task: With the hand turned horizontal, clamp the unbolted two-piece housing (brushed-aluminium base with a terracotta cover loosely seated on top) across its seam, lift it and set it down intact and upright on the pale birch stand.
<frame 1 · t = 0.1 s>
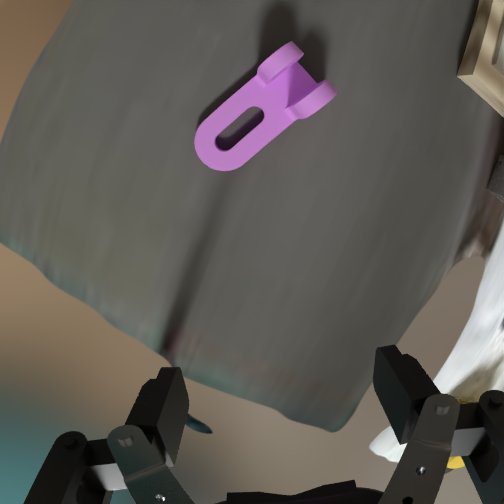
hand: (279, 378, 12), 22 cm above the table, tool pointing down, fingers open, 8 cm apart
bracket: (254, 115, 29), on the table
housing base: (503, 181, 31), on the table, touching housing cover
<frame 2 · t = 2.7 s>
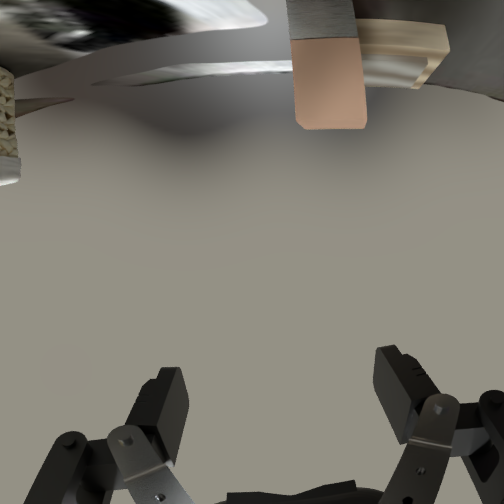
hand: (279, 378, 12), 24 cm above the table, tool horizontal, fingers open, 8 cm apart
housing cover: (326, 48, 21), point 6 cm above the table, touching housing base
stand: (377, 47, 33), on the table
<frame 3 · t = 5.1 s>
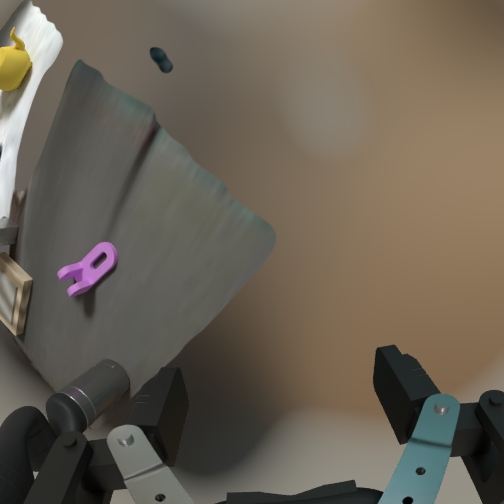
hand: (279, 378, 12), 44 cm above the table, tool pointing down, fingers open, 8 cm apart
teapot: (22, 69, 63), on the table
stand: (13, 292, 70), on the table
bracket: (97, 265, 64), on the table
housing base: (12, 230, 68), on the table, touching housing cover
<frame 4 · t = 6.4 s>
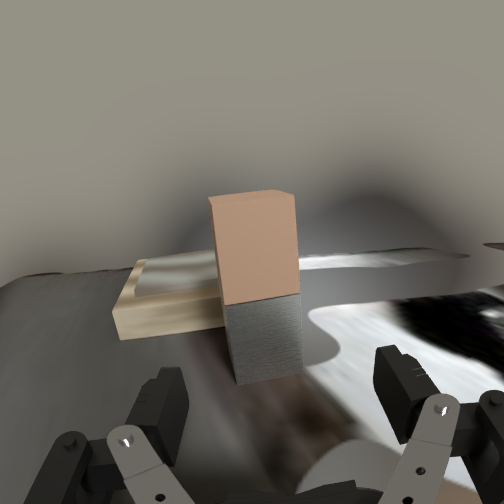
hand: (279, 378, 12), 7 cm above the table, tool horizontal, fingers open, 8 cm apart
housing cover: (256, 287, 23), point 6 cm above the table, touching housing base
stand: (187, 297, 39), on the table
housing base: (263, 361, 25), on the table, touching housing cover
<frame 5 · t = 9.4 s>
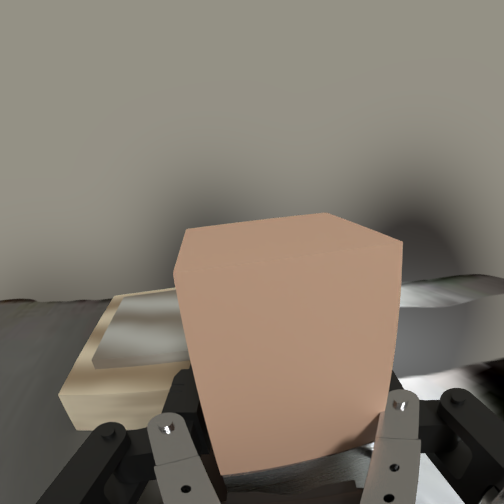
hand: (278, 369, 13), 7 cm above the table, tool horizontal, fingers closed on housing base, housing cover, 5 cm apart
housing cover: (285, 413, 11), point 7 cm above the table, touching gripper
stand: (176, 356, 27), on the table
housing base: (290, 499, 12), on the table, touching gripper
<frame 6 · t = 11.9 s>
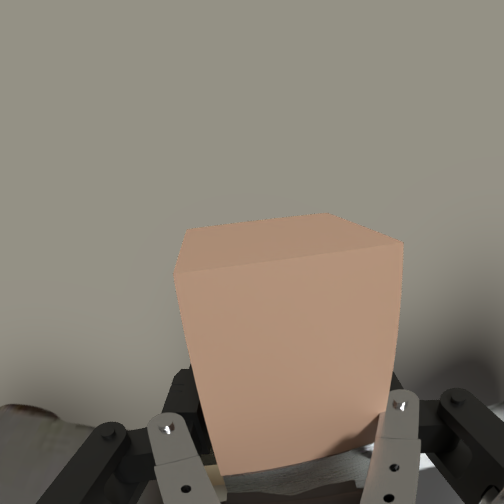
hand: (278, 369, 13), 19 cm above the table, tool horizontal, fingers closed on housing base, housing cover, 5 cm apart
housing cover: (286, 413, 11), point 19 cm above the table, touching gripper
housing base: (290, 499, 12), point 12 cm above the table, touching gripper
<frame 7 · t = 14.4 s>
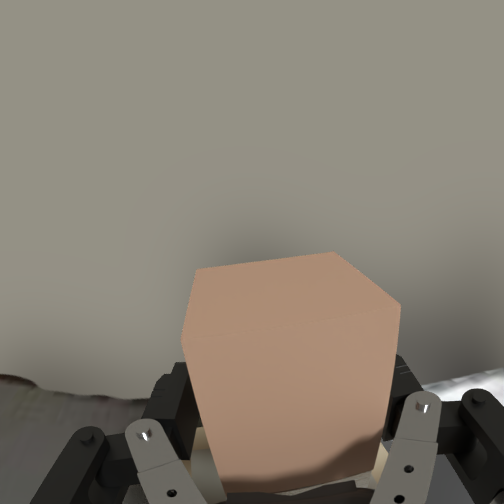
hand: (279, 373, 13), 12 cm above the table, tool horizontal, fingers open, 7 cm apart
housing cover: (289, 439, 11), point 10 cm above the table, touching housing base
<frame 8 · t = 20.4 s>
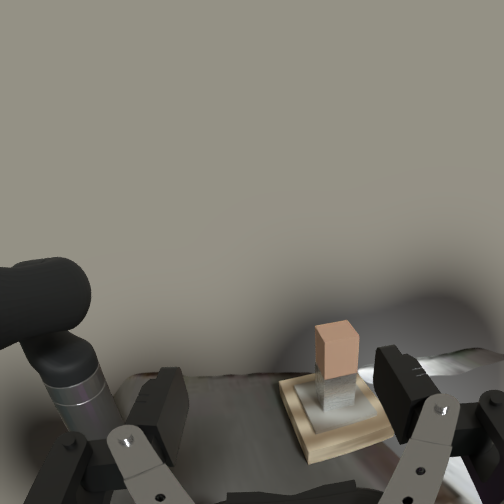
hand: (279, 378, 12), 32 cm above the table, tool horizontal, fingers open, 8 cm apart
housing cover: (335, 367, 46), point 10 cm above the table, touching housing base
stand: (332, 415, 48), on the table
housing base: (334, 398, 47), point 4 cm above the table, touching housing cover, stand
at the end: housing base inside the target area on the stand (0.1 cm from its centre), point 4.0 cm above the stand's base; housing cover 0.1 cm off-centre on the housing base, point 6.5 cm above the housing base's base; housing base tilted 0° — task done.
